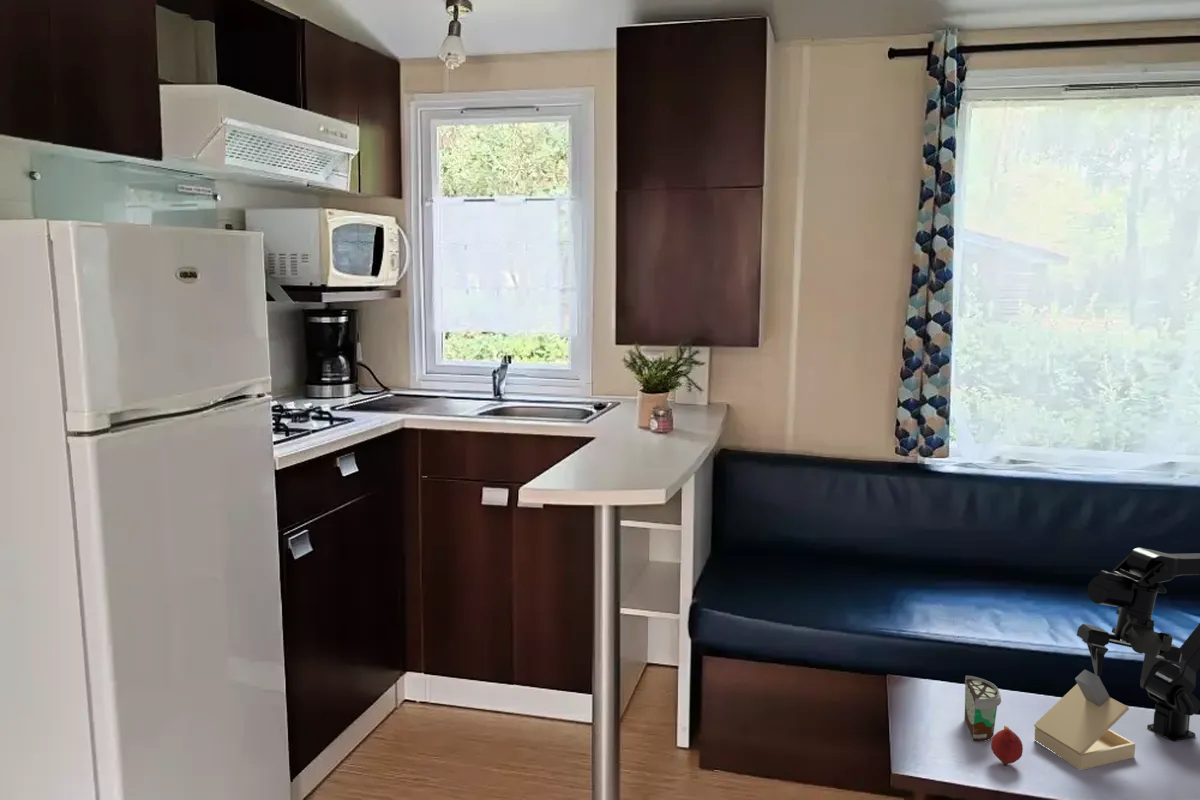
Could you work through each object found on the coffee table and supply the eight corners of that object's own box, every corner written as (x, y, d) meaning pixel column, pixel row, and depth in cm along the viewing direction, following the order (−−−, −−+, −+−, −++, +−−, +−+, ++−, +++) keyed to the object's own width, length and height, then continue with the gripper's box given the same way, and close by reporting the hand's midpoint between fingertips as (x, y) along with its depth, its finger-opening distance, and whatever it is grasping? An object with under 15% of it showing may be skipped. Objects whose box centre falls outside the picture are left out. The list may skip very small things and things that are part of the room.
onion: (1022, 760, 187) (1024, 723, 186) (1021, 774, 182) (1023, 736, 180) (990, 754, 189) (992, 717, 188) (989, 767, 184) (991, 730, 183)
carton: (1086, 730, 198) (1086, 716, 198) (1134, 757, 187) (1135, 743, 187) (1034, 741, 194) (1035, 728, 193) (1080, 770, 183) (1081, 756, 182)
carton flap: (1080, 684, 196) (1068, 661, 194) (1129, 709, 185) (1116, 685, 183) (1035, 727, 193) (1022, 704, 191) (1081, 755, 182) (1068, 731, 180)
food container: (1005, 747, 192) (1007, 702, 190) (974, 745, 193) (976, 700, 191) (992, 719, 204) (994, 676, 202) (963, 717, 205) (965, 674, 203)
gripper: (1108, 610, 183) (1091, 685, 184) (1204, 630, 182) (1187, 706, 183) (1084, 596, 194) (1067, 668, 195) (1174, 615, 193) (1158, 687, 194)
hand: (1119, 682), depth 191 cm, fingers open, 9 cm apart
